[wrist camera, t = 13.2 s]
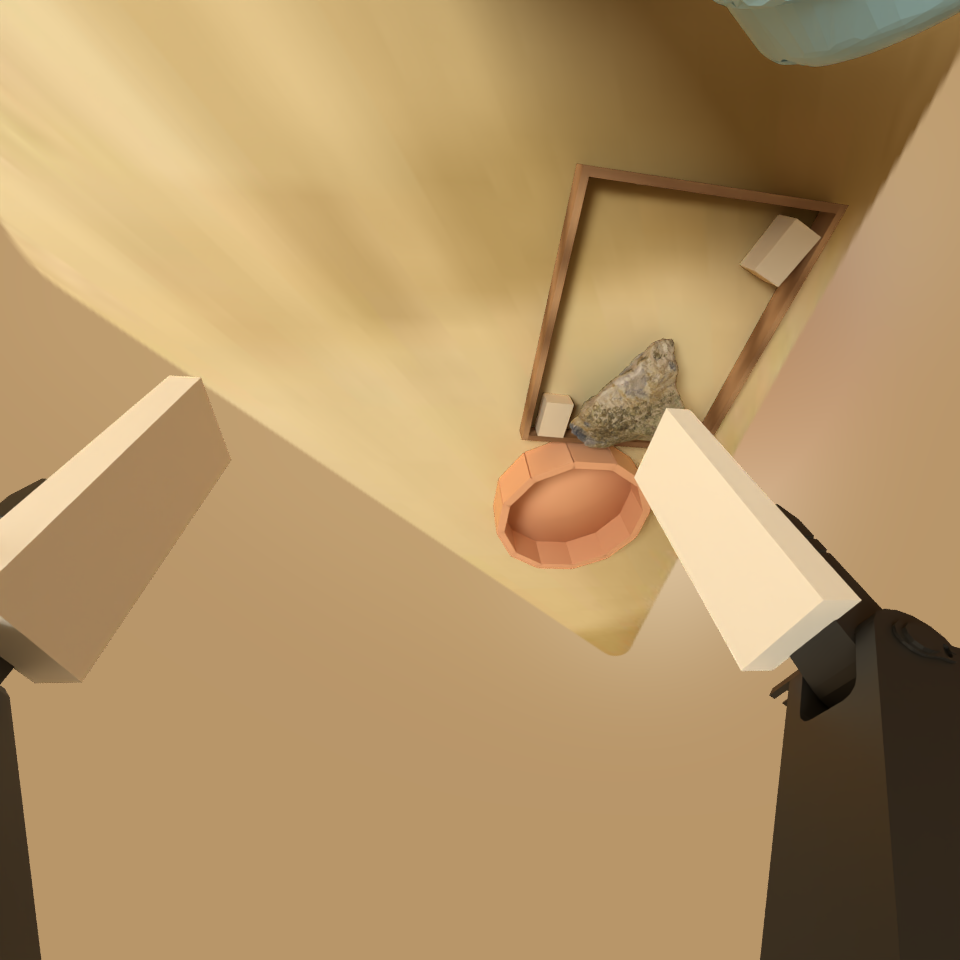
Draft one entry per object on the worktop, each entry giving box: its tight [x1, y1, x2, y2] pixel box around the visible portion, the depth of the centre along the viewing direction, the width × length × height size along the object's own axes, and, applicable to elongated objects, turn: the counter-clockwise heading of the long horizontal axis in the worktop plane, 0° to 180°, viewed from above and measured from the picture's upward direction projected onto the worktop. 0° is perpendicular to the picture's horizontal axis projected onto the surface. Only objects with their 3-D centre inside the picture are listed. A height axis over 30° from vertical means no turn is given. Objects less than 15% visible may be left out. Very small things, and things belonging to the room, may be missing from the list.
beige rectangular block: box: [739, 215, 821, 287], centre depth 33 cm, size 4×3×2 cm
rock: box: [569, 338, 685, 448], centre depth 39 cm, size 11×6×10 cm
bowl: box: [493, 442, 651, 569], centre depth 49 cm, size 18×18×4 cm
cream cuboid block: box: [535, 393, 574, 438], centre depth 42 cm, size 4×3×2 cm
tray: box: [520, 164, 849, 448], centre depth 37 cm, size 23×21×2 cm
